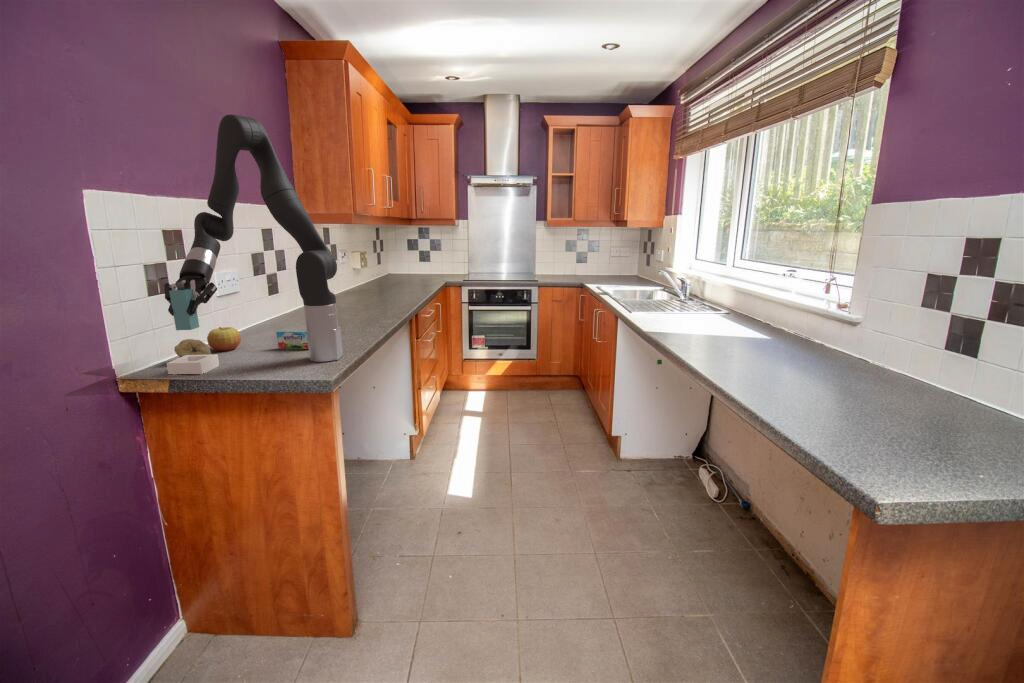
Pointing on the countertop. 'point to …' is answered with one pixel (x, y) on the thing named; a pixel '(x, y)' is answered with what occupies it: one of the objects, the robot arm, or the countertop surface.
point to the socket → (193, 364)
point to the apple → (224, 339)
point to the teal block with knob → (183, 308)
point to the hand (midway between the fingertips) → (181, 313)
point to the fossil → (191, 348)
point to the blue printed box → (292, 340)
